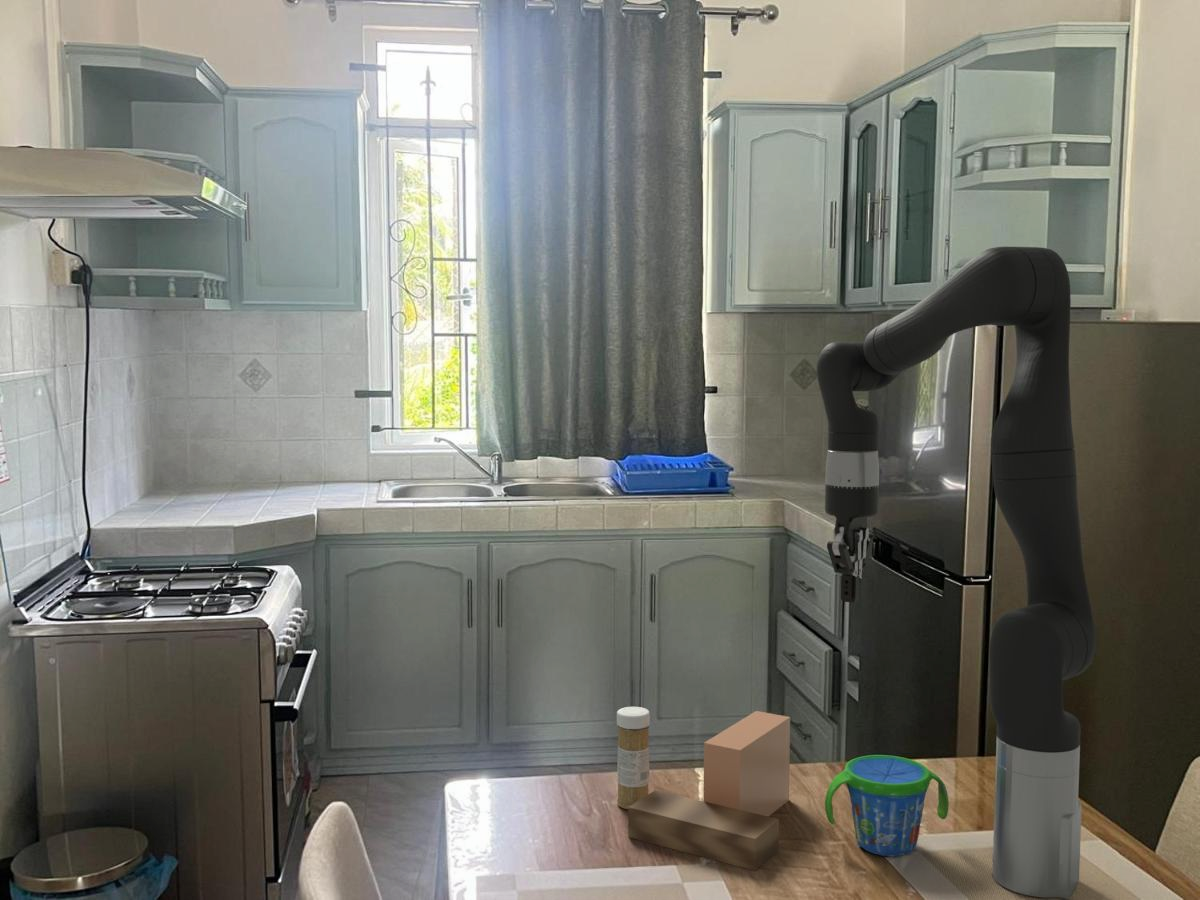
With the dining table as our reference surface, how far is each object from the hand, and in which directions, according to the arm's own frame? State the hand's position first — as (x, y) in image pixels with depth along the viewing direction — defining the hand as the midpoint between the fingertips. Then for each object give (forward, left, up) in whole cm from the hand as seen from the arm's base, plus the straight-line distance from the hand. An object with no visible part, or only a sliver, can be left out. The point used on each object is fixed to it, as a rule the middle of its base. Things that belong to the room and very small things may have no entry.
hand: (849, 600), depth 165 cm
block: (+7, +18, -27) cm, 34 cm away
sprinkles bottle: (+22, +24, -27) cm, 42 cm away
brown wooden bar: (+8, +30, -27) cm, 41 cm away
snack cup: (-12, +18, -27) cm, 35 cm away
